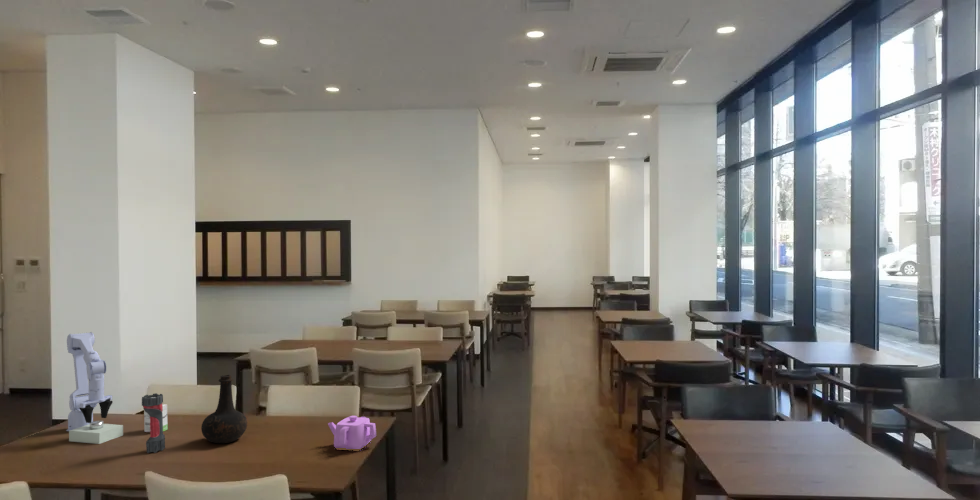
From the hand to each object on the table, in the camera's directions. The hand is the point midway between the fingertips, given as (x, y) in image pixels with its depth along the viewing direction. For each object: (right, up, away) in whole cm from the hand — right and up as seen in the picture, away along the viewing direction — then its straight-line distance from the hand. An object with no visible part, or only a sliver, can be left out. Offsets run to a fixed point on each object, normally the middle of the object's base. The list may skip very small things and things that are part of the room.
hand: (96, 420), depth 260 cm
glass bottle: (+58, -8, -4) cm, 58 cm away
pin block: (0, -8, 0) cm, 8 cm away
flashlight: (+35, -8, -18) cm, 40 cm away
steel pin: (0, -7, 0) cm, 7 cm away
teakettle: (+114, -8, -11) cm, 115 cm away
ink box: (+20, -8, +10) cm, 24 cm away
